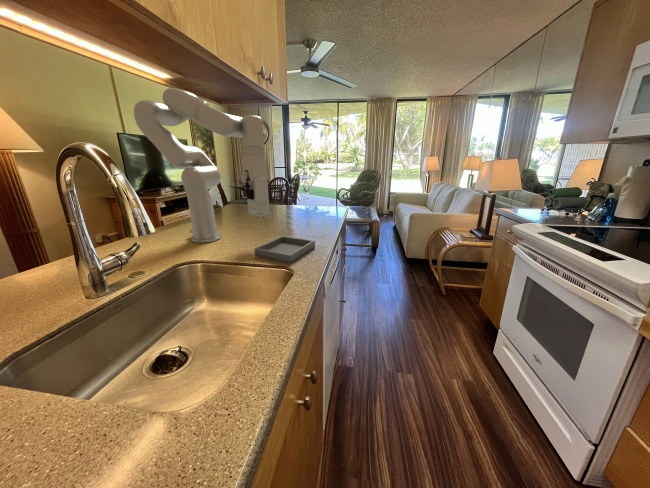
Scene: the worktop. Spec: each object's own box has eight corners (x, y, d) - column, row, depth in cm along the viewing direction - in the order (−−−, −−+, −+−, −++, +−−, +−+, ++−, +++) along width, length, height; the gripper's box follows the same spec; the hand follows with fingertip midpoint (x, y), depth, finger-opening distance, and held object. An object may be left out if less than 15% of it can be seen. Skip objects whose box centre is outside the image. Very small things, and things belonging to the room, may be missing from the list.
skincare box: (270, 215, 108) (269, 178, 103) (256, 217, 104) (255, 178, 99) (259, 211, 114) (258, 176, 109) (246, 213, 110) (244, 176, 105)
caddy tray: (255, 256, 99) (254, 248, 98) (282, 242, 115) (282, 235, 114) (290, 263, 93) (290, 255, 92) (315, 247, 108) (315, 240, 107)
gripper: (261, 151, 110) (263, 194, 116) (230, 151, 95) (234, 200, 101) (275, 151, 107) (277, 195, 113) (246, 151, 92) (249, 202, 98)
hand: (257, 197), depth 107 cm, fingers closed on skincare box, 7 cm apart
